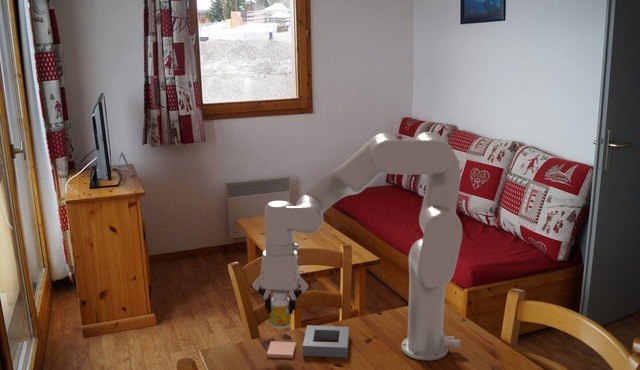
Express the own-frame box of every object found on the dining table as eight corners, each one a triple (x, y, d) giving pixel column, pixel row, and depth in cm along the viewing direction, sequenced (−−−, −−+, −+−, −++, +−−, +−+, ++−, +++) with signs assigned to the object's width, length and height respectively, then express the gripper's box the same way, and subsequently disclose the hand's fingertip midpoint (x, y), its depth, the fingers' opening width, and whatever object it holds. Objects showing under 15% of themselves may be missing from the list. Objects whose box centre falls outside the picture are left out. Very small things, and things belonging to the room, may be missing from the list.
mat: (295, 345, 180) (295, 342, 180) (292, 358, 173) (292, 354, 173) (271, 344, 180) (270, 341, 180) (267, 357, 174) (266, 353, 173)
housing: (348, 336, 185) (349, 326, 184) (347, 357, 173) (347, 347, 173) (307, 334, 186) (307, 325, 185) (302, 355, 174) (302, 345, 174)
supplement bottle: (266, 326, 174) (266, 292, 171) (277, 318, 178) (276, 285, 176) (284, 330, 171) (283, 296, 169) (294, 322, 176) (294, 289, 173)
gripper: (313, 244, 172) (313, 306, 177) (250, 242, 173) (251, 304, 178) (310, 254, 165) (310, 319, 169) (244, 251, 166) (246, 316, 171)
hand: (280, 310), depth 174 cm, fingers closed on supplement bottle, 5 cm apart
